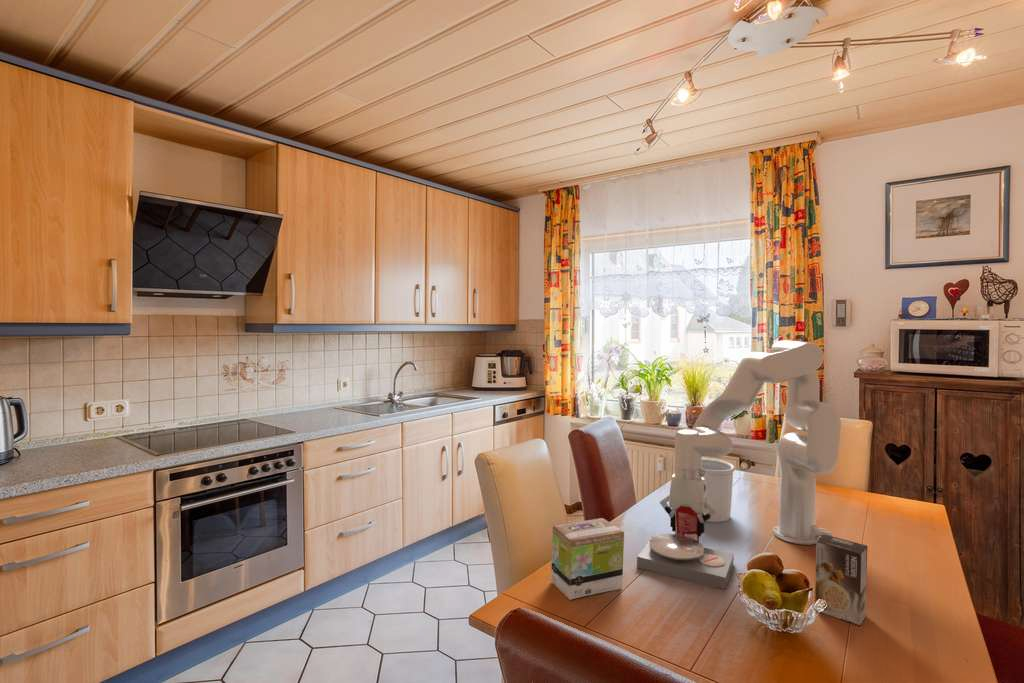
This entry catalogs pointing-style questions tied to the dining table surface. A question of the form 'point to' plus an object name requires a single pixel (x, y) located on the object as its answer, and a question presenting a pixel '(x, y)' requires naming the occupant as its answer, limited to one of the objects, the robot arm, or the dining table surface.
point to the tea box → (587, 557)
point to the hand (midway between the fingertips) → (687, 531)
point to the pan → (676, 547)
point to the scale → (690, 566)
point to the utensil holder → (718, 487)
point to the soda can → (686, 522)
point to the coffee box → (841, 578)
